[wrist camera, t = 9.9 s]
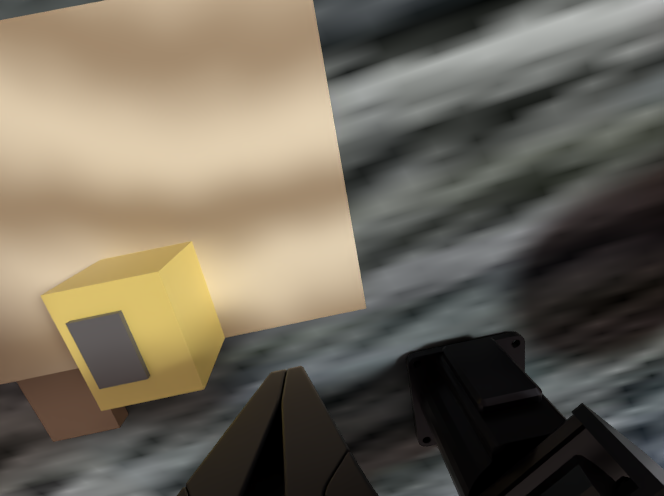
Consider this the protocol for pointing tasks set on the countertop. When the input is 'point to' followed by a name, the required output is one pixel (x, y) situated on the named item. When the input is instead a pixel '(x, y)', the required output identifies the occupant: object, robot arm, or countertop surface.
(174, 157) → the panel
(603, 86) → the countertop surface
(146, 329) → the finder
